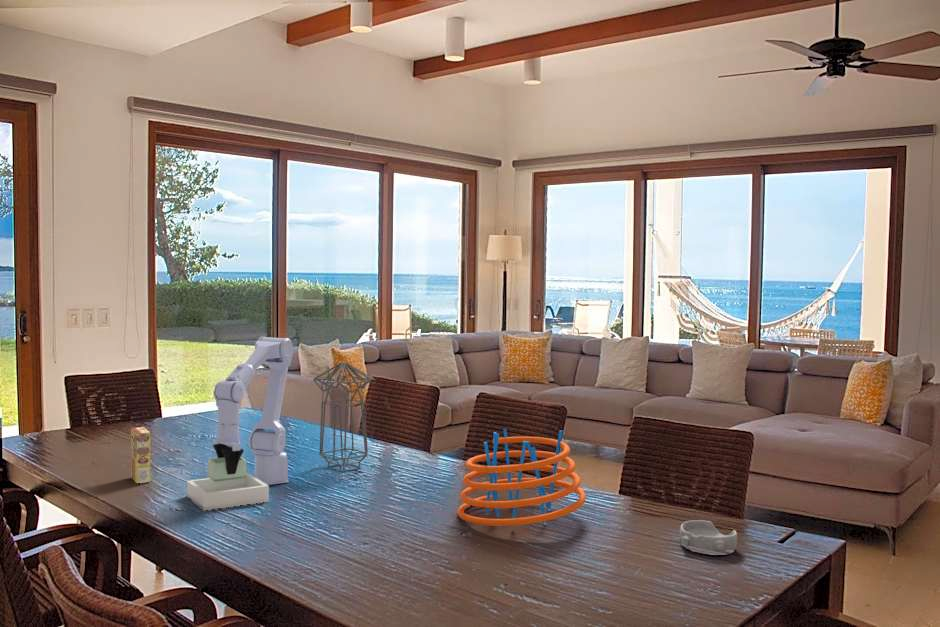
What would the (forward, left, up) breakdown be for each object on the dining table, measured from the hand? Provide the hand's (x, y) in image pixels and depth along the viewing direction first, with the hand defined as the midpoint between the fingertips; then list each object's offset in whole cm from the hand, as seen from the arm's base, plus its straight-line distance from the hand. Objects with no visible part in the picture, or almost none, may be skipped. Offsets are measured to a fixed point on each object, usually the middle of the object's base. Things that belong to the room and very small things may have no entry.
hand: (227, 471), depth 228 cm
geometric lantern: (-44, -18, -8) cm, 48 cm away
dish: (-87, +96, -8) cm, 130 cm away
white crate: (0, 0, -8) cm, 8 cm away
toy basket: (-62, +54, -8) cm, 83 cm away
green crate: (0, 0, -2) cm, 2 cm away
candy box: (+16, -32, -8) cm, 37 cm away
